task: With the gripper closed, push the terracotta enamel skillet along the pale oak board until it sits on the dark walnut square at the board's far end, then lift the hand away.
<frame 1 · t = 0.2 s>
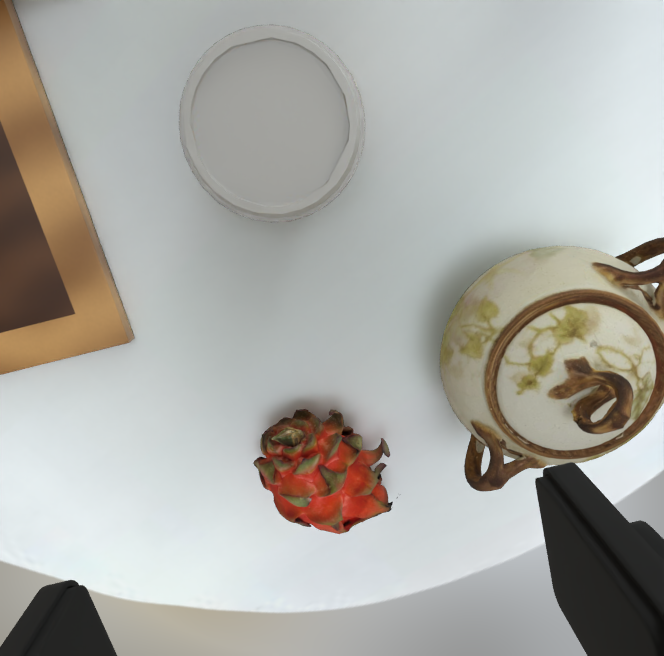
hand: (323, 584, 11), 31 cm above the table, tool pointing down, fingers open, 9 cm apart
disposable coffee cup: (285, 143, 38), on the table
dragon fruit: (326, 448, 44), on the table
sugar bowl: (517, 332, 42), on the table
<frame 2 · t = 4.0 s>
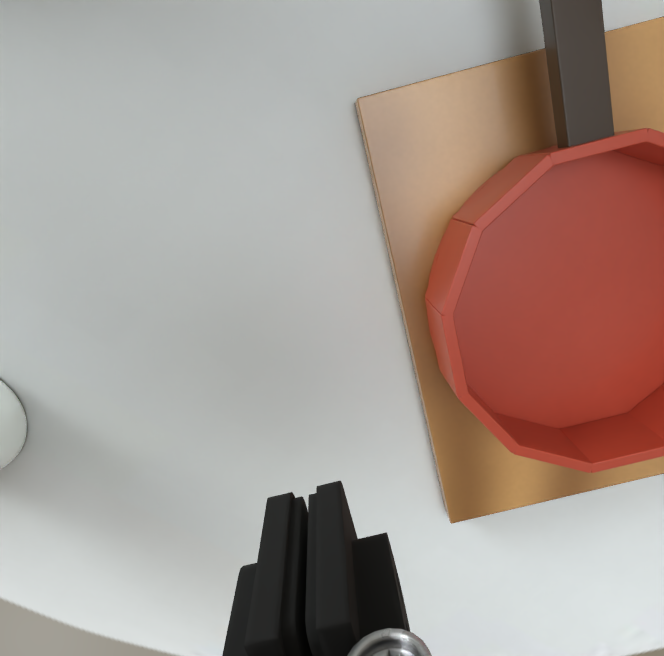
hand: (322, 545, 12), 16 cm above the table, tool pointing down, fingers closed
skillet: (571, 295, 26), point 1 cm above the table, touching board
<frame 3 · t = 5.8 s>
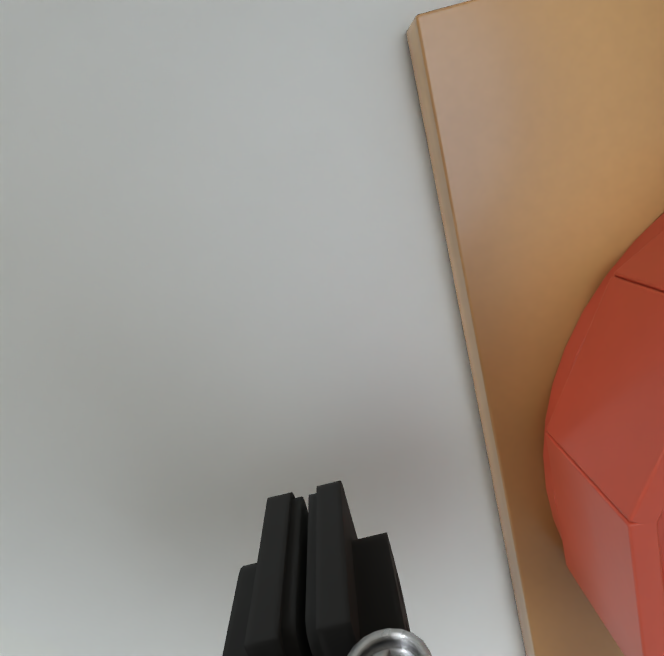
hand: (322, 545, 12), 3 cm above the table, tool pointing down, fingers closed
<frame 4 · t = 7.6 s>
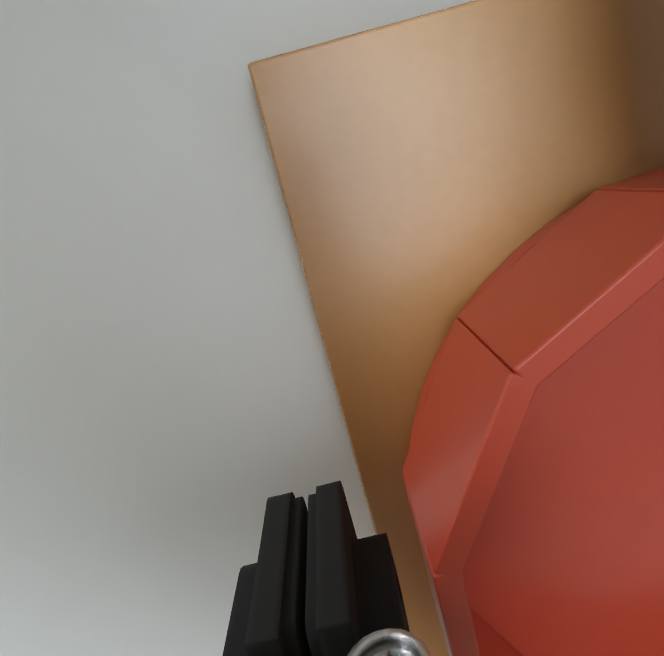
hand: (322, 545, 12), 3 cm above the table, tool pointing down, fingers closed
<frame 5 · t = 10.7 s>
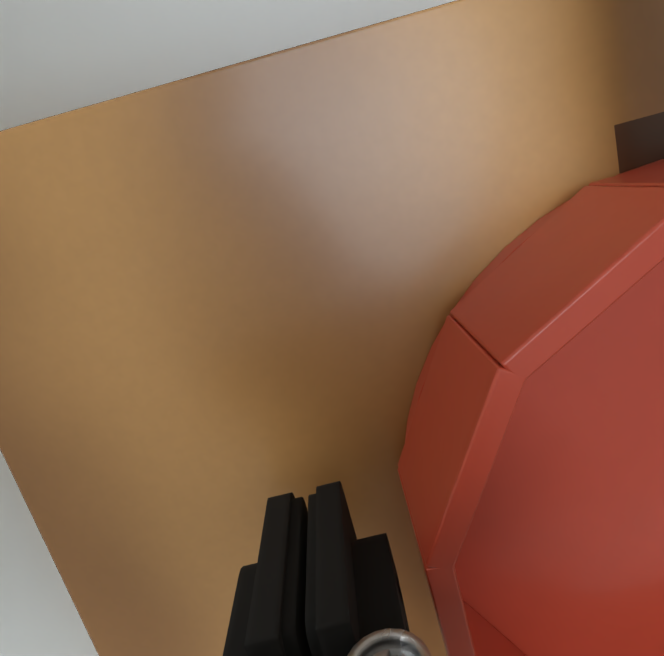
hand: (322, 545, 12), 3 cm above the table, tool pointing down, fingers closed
board: (659, 427, 14), on the table
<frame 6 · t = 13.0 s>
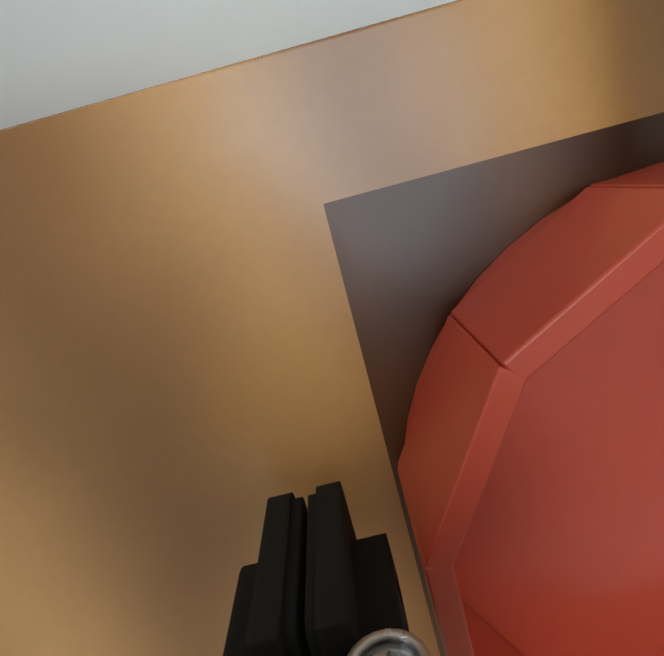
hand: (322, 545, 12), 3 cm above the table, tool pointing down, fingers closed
board: (431, 483, 15), on the table
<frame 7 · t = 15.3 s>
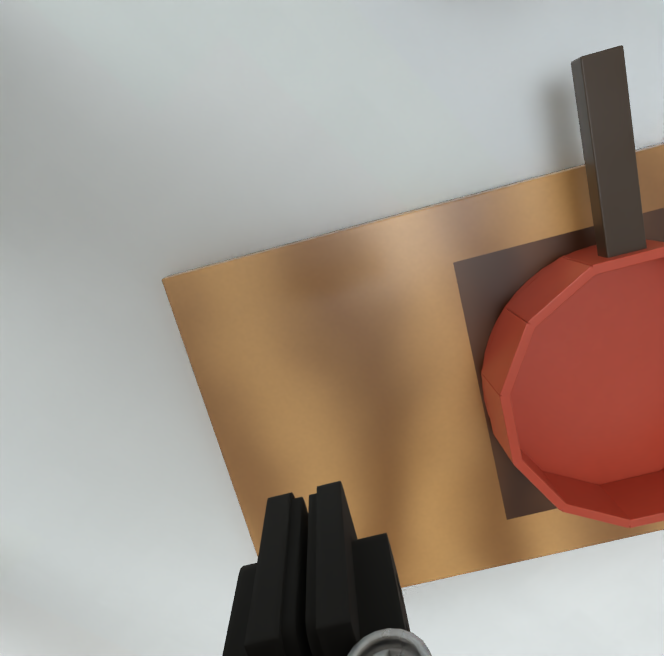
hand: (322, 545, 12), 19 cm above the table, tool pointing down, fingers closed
board: (491, 387, 31), on the table
skillet: (609, 369, 29), point 1 cm above the table, touching board
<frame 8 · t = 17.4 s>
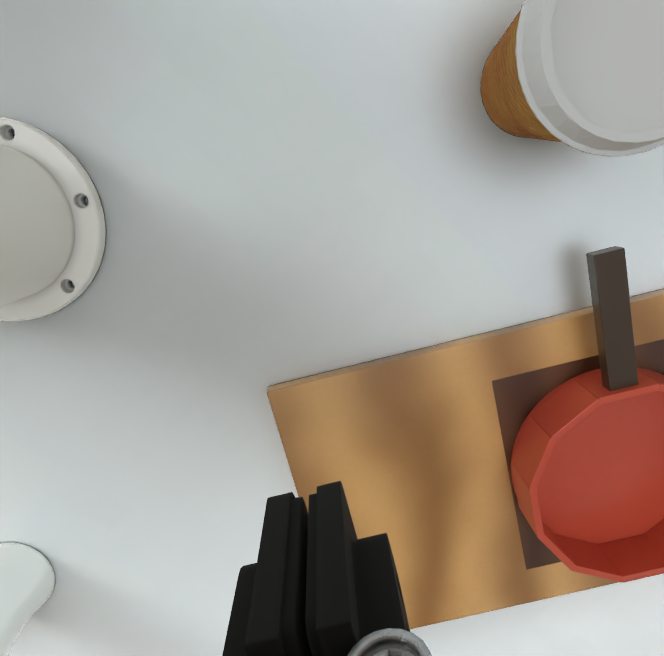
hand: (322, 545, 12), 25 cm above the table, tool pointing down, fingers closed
disposable coffee cup: (529, 83, 33), on the table
board: (516, 468, 40), on the table
skillet: (607, 458, 38), point 1 cm above the table, touching board
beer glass: (16, 573, 41), on the table
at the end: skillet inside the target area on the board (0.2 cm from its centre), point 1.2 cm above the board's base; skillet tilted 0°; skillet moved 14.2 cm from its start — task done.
